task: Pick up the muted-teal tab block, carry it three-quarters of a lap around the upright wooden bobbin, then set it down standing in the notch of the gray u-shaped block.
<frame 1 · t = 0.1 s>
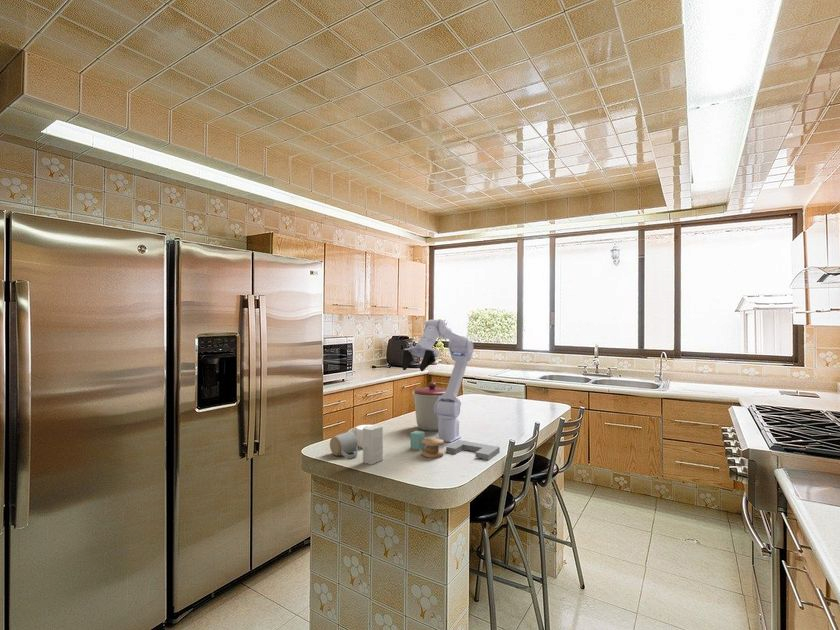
hand: (412, 369, 157), 32 cm above the countertop, tool tilted 50°, fingers open, 7 cm apart
skincare box: (372, 462, 152), on the countertop
canister: (431, 428, 198), on the countertop
ceramic mug: (346, 455, 159), on the countertop
tab block: (417, 448, 168), on the countertop
bobbin: (432, 454, 160), on the countertop
gray u-shaped block: (474, 452, 163), on the countertop
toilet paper: (361, 445, 172), on the countertop
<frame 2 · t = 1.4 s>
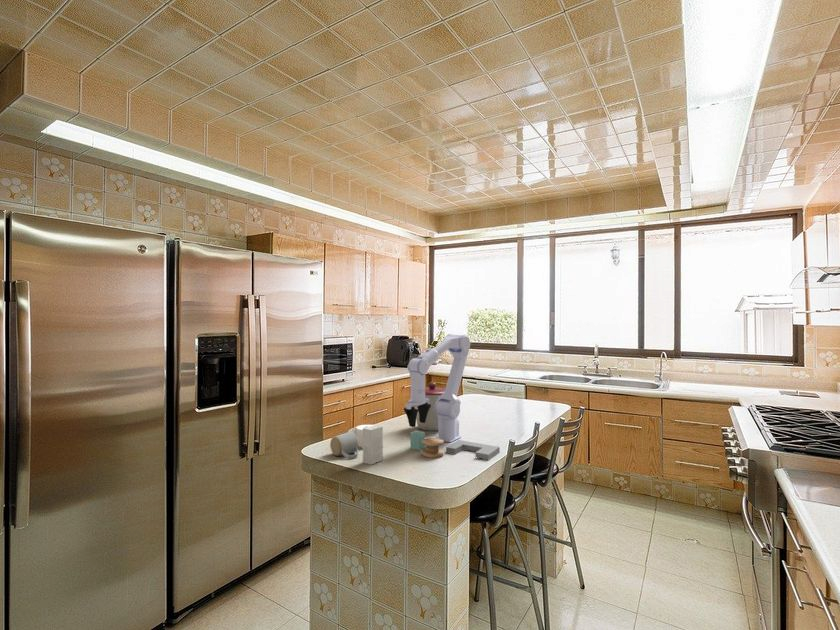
hand: (417, 424, 168), 9 cm above the countertop, tool pointing down, fingers open, 7 cm apart
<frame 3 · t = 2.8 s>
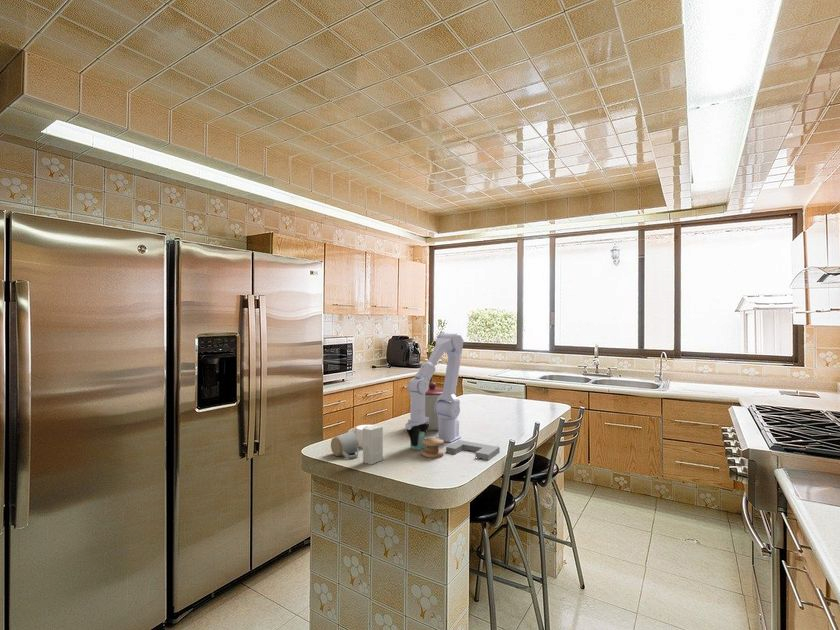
hand: (417, 444, 168), 1 cm above the countertop, tool pointing down, fingers closed on tab block, 4 cm apart
tab block: (417, 447, 168), on the countertop, touching gripper
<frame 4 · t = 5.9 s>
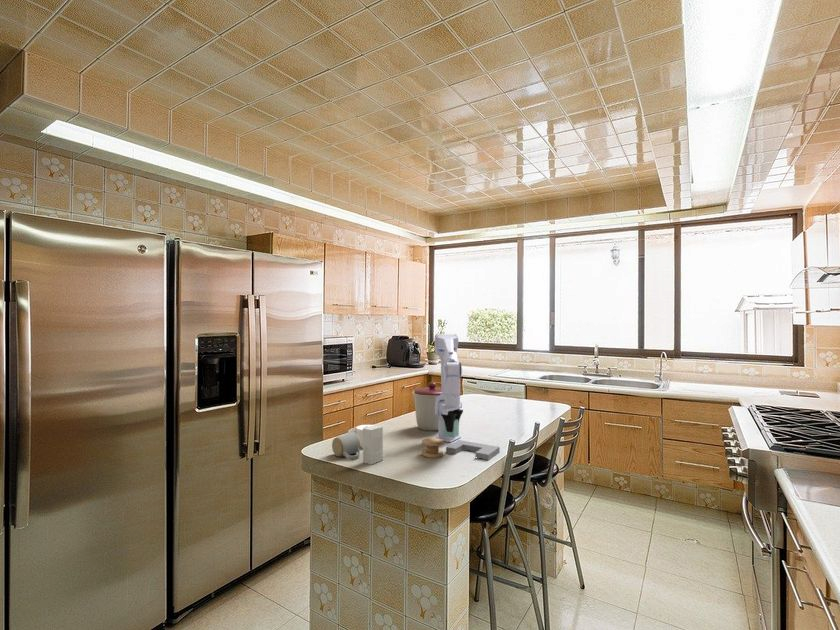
hand: (452, 430, 163), 8 cm above the countertop, tool pointing down, fingers closed on tab block, 4 cm apart
tab block: (451, 435, 163), point 6 cm above the countertop, touching gripper
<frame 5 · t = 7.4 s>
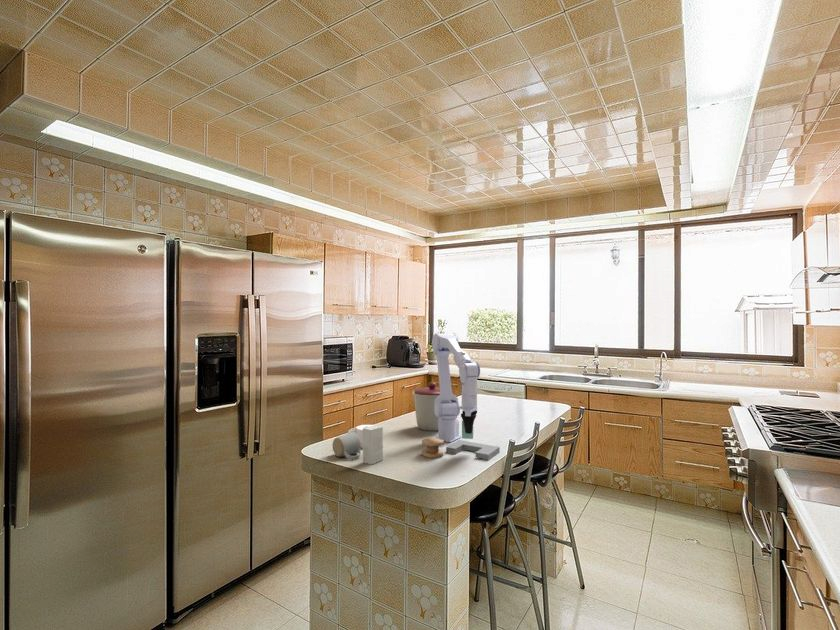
hand: (469, 431, 161), 8 cm above the countertop, tool pointing down, fingers closed on tab block, 4 cm apart
tab block: (467, 437, 161), point 6 cm above the countertop, touching gripper
when the fingers open (3 cm above the countertop, at t = 9.0 s): tab block stays where it is, on the countertop.
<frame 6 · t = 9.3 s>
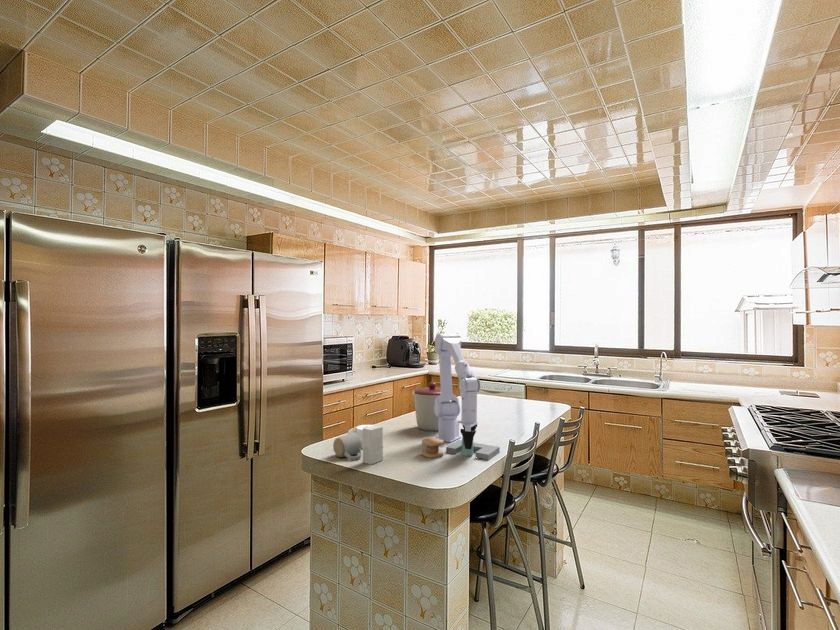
hand: (468, 445, 161), 3 cm above the countertop, tool pointing down, fingers open, 7 cm apart
tab block: (467, 453, 161), on the countertop
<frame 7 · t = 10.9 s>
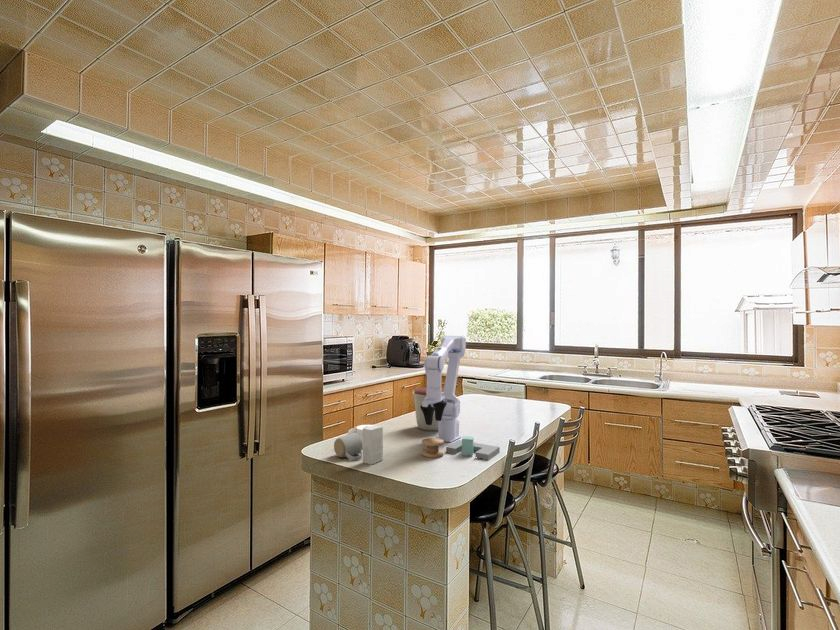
hand: (433, 422, 166), 10 cm above the countertop, tool pointing down, fingers open, 7 cm apart
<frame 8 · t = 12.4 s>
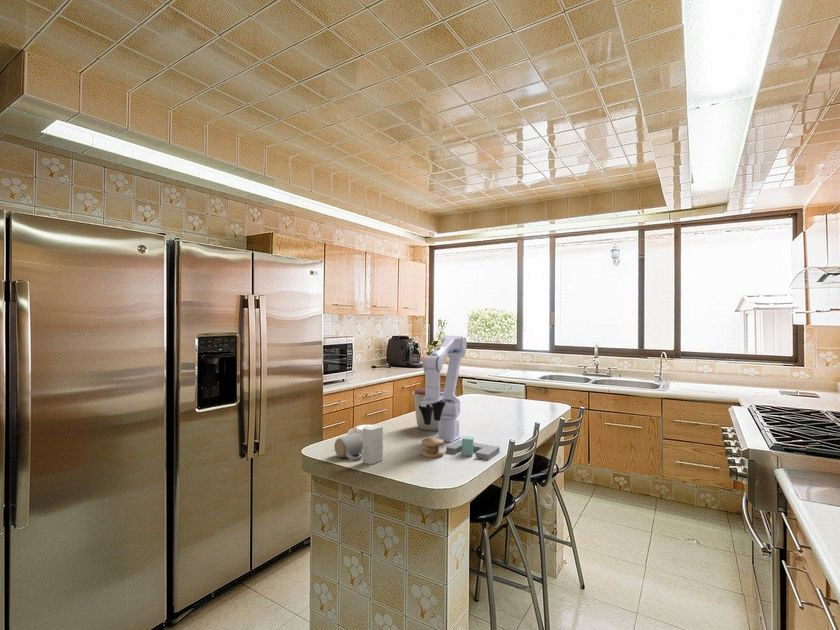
hand: (432, 422, 166), 10 cm above the countertop, tool pointing down, fingers open, 7 cm apart
at the end: tab block 0.4 cm from the target spot, on the countertop; tab block tilted 0°; the gripper is holding nothing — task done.
